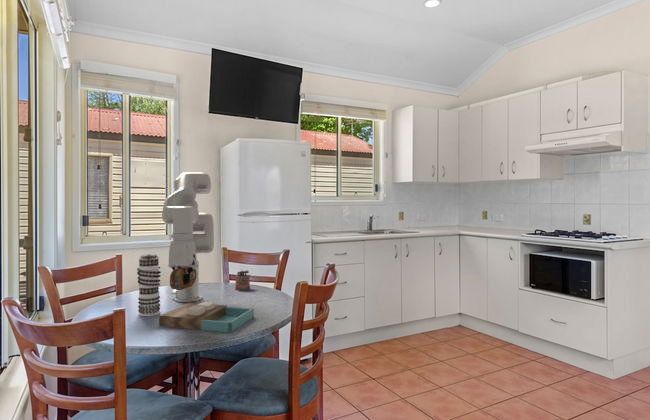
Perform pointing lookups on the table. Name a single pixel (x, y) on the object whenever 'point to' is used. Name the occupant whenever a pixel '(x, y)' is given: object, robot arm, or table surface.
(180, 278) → the tin
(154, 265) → the decorative candle
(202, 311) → the cream tile
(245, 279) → the lighter
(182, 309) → the plate
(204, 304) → the cream tile
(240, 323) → the box
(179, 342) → the table surface
